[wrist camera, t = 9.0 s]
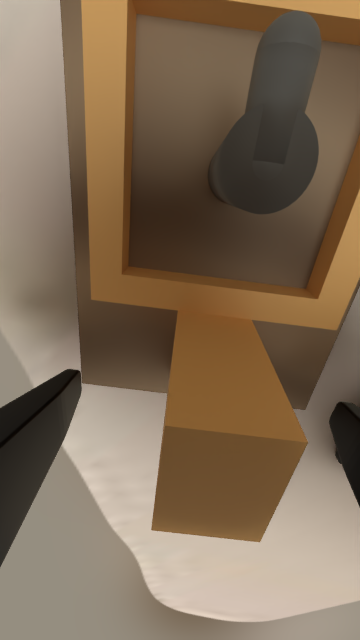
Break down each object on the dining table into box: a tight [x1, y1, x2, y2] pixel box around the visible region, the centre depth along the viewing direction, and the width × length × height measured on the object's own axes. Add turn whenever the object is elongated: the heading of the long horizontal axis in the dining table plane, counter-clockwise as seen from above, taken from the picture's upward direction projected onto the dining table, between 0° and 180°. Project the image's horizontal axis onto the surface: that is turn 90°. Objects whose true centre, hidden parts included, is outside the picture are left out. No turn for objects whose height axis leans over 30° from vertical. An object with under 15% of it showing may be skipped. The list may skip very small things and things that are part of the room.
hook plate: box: [60, 0, 360, 410], centre depth 9 cm, size 16×12×6 cm
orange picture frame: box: [81, 0, 360, 542], centre depth 7 cm, size 14×10×7 cm
